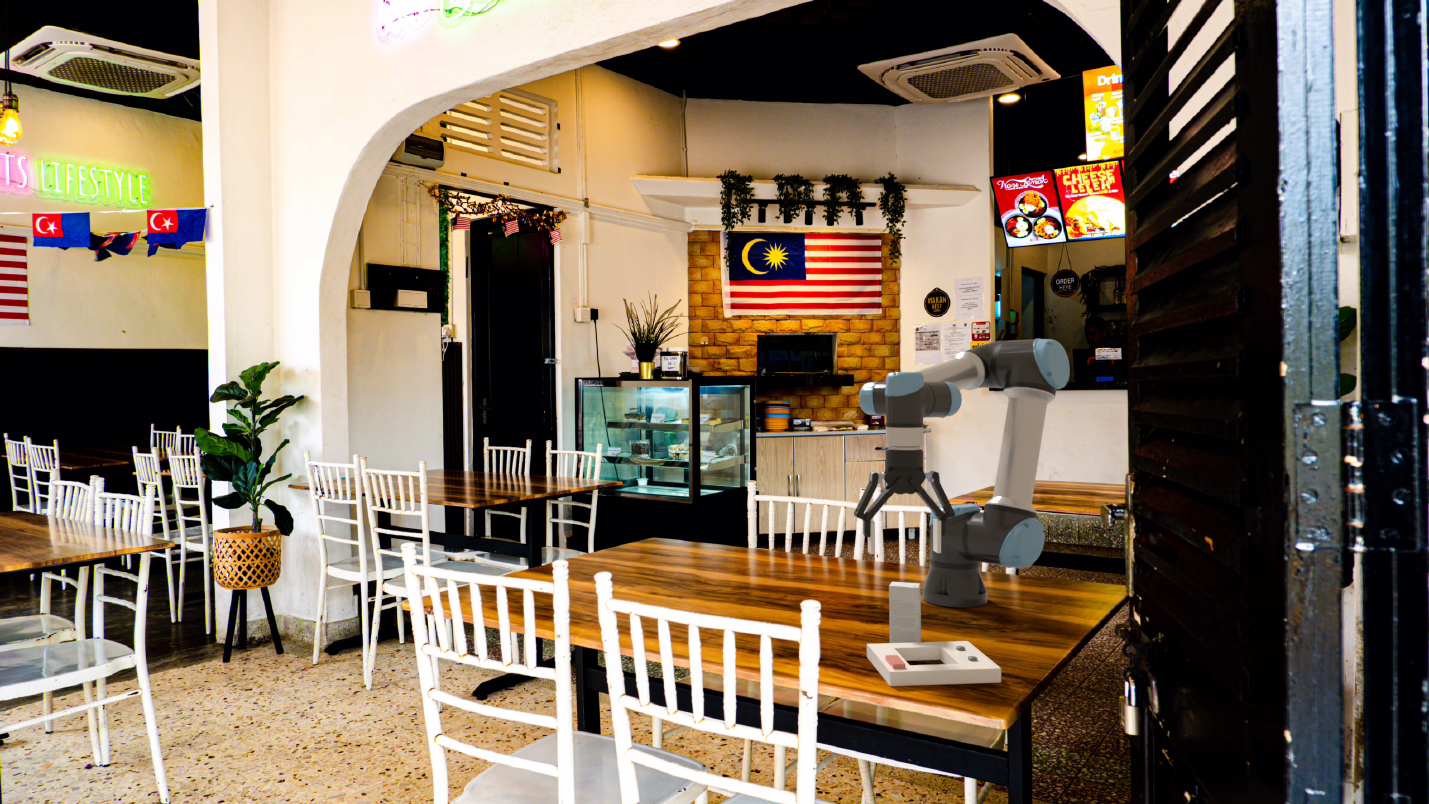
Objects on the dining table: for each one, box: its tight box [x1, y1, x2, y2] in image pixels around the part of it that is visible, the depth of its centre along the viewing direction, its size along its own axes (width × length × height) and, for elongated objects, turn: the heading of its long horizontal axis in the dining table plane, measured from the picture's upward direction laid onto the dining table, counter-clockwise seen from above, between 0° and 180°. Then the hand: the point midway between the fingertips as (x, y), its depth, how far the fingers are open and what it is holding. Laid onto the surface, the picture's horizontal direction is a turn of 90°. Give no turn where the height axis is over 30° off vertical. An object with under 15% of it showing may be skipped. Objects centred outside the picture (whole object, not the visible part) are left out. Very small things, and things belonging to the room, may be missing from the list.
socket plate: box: [866, 640, 1002, 687], centre depth 158 cm, size 20×16×3 cm
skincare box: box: [888, 581, 922, 643], centre depth 174 cm, size 6×4×12 cm
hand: (904, 552), depth 173 cm, fingers open, 13 cm apart
